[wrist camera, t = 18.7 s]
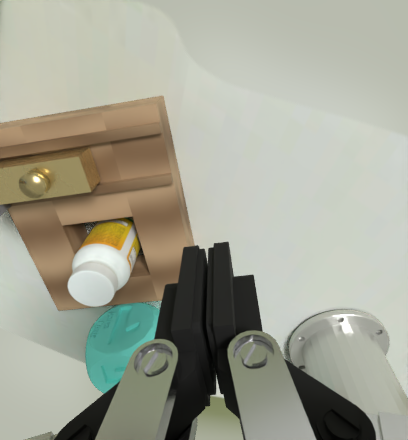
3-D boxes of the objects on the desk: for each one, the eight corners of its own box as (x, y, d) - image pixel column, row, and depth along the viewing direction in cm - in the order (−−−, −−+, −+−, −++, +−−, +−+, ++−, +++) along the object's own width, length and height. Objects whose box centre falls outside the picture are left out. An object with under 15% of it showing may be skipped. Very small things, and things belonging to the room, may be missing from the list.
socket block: (200, 273, 39) (197, 315, 33) (71, 287, 40) (47, 330, 34) (163, 95, 29) (149, 110, 23) (-3, 123, 31) (-55, 144, 25)
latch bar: (100, 180, 29) (87, 197, 26) (16, 192, 30) (-7, 210, 27) (89, 147, 27) (73, 160, 24) (1, 160, 28) (-25, 175, 25)
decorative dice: (160, 296, 41) (148, 350, 34) (175, 341, 45) (168, 397, 38) (99, 305, 42) (76, 358, 35) (119, 347, 46) (102, 404, 39)
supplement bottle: (153, 238, 37) (135, 297, 28) (117, 259, 38) (90, 321, 30) (122, 201, 35) (92, 254, 26) (85, 225, 36) (45, 282, 28)
